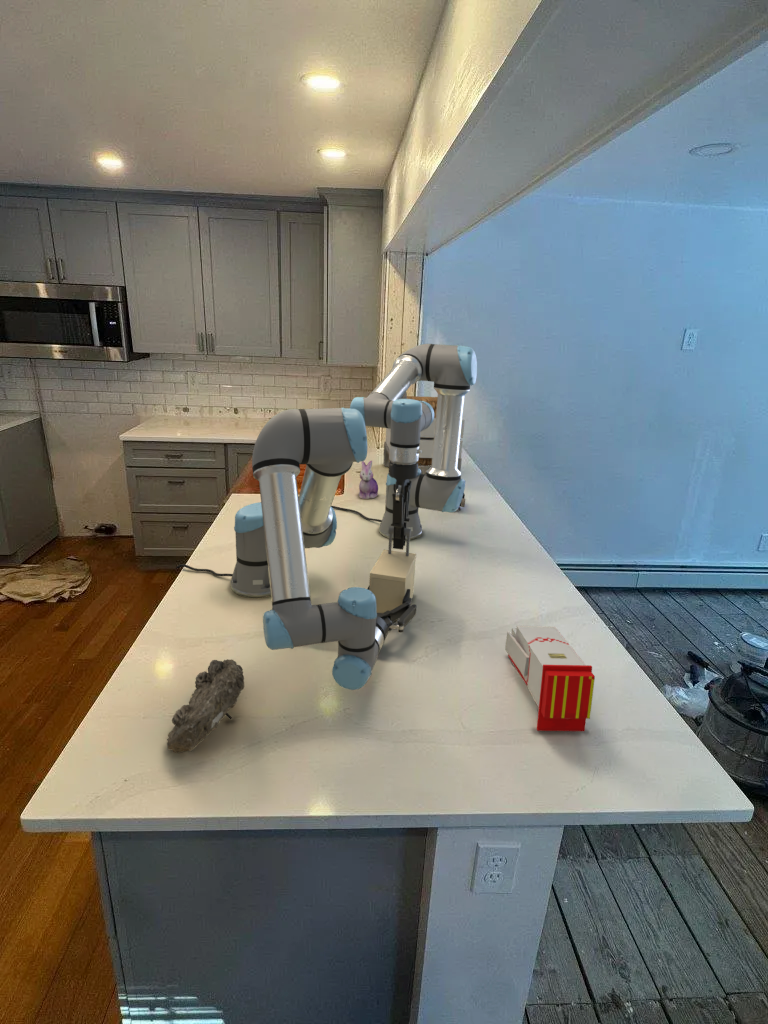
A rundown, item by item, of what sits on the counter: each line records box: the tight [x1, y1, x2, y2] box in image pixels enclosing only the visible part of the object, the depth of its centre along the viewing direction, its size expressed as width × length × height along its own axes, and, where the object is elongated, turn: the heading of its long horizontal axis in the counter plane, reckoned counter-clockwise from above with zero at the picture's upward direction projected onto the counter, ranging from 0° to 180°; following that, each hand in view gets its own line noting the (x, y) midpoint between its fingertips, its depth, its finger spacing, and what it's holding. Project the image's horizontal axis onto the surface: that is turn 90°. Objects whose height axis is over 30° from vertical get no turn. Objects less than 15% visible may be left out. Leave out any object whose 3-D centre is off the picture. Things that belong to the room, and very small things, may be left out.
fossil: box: [166, 658, 245, 754], centre depth 106 cm, size 22×10×15 cm
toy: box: [504, 625, 596, 732], centre depth 119 cm, size 12×13×30 cm
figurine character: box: [457, 492, 466, 511], centre depth 229 cm, size 7×8×15 cm
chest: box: [368, 558, 417, 622], centre depth 150 cm, size 14×9×11 cm, turn 167°
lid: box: [369, 526, 417, 582], centre depth 147 cm, size 16×9×9 cm, turn 167°
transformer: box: [383, 391, 465, 473], centre depth 268 cm, size 34×33×41 cm
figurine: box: [358, 460, 379, 500], centre depth 236 cm, size 9×10×15 cm
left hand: (389, 591), depth 146 cm, fingers closed on chest, 9 cm apart
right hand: (399, 546), depth 152 cm, fingers closed on lid, 2 cm apart
